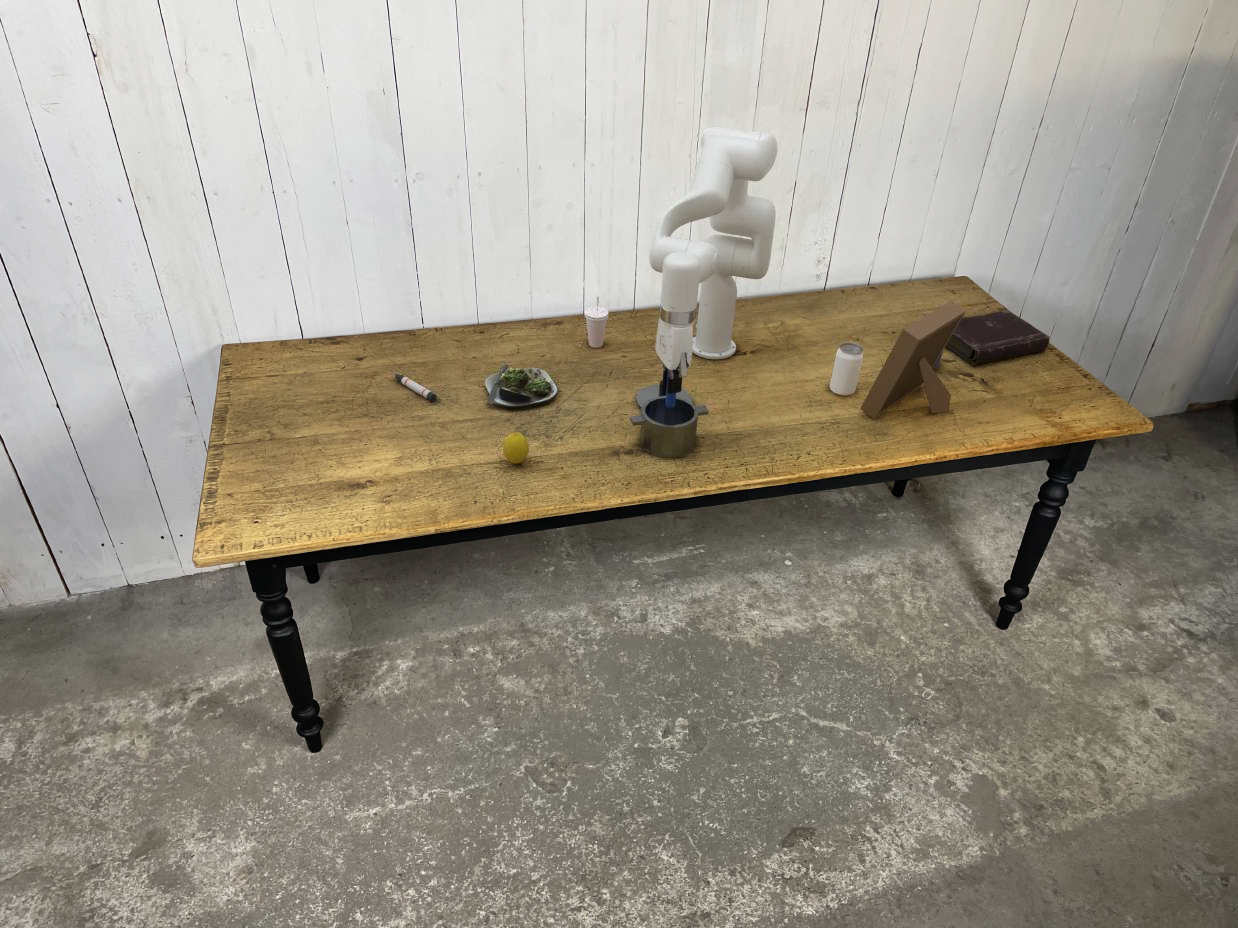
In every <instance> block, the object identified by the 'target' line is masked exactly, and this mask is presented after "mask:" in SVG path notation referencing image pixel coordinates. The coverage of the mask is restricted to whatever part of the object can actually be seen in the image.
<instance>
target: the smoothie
mask: <svg viewBox="0 0 1238 928" xmlns="http://www.w3.org/2000/svg"><path fill="white" fill-rule="evenodd" d="M599 299H600V296H599V295H596V300H595V301H596V303H595V304H596V305H595V306H590V307H588V308H586V309H585V310H584V318H585V323H586V330H587V339H588V345H589V347H592V348H595V349H597V348H601V347H602V346H603V345H604V339H605V332H606V326H607V320H608V318H609V316H610V315H609V310H608V309H607V308H605V307H603V306H600V305H599V303H600V300H599Z"/></svg>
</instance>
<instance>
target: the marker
mask: <svg viewBox="0 0 1238 928" xmlns="http://www.w3.org/2000/svg"><path fill="white" fill-rule="evenodd" d="M394 377H395V379H396V380H397V382H398V383H400V384H401V385H403V386H405V387H407V388H409V389H410V390H411V391H413V392H415V393H416V394H418V395H420V396H422V397H424V398H425V399H426V400H429V401H430V402H432V403H433V402H435V401H436V400H437V398H438V396H437V394H436V393H434V392H433V391H431V390H429V389H428V388H426V387H424V386H422V385H420V384H419V383H417V382H416V381H414V380H412V379H410V378H409V377H407V376H406V375H404V374H399V373H397V374H396V373H394Z"/></svg>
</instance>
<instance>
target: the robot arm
mask: <svg viewBox="0 0 1238 928" xmlns="http://www.w3.org/2000/svg"><path fill="white" fill-rule="evenodd" d="M777 155H778V141H777V139H776V137H775V135H773V134H772V133H769V132H764V131H763V132H762V131H755V130H748V129H747V130H746V129H740V128H734V127H723V126H711V127H708V128H706V129H705V130H704V131H702V134H701V136H700V153H699V156H698V160H697V163H696V167H695V170H694V173H693V177H692V180H691V184H690V187H689V190H688V193H687V194H686V195H685V196H682V198H680V199H678V200H677V201H676V202H675V203H673V204H672V205H671V206H670V207H669V208H668V209H667V210H666V211H665V212H664V213H663V214H662V216H661V217H660V218H659V220H658V223H657V224H656V228H655V231H654V235H653V238H652V241H651V245H650V249H649V257H648V260H649V265H650V267H651V268H652V270H653V271H655V272H656V273H660V274H662V275H661V276H662V277H661V291H660V304H659V315H658V316H659V317H658V318H659V319H658V324H657V330H656V338H655V347H654V348H655V352H656V354H657V356H658V358H659V359H660V360H661V362H662V368H663V370H662V379H661V381H662V385H663V387H667V393H668V394H672V393H679V392H681V389H683V388H682V387H683V378H687V376H688V373H687V369H689V368H691V365H692V360H693V354H694V355H696V356H698V357H700V358H703V359H707V360H723V359H728V358H730V357H733V355H735V353H736V352H737V351H736V350H737V345H736V342H735V341H734V340H733V338H732V337H733V330H734V329H733V328H734V322H735V321H734V320H735V313H736V305H737V299H738V298H737V297H738V287H737V284H736V281H735V279H734V277H736V278H743V279H750V280H761V279H763V278H765V276H766V275H767V273H768V271H769V267H770V262H771V257H772V249H773V241H774V234H775V226H776V206H775V204H774V202H773V201H771V200H770V199H769V198H765V197H760V196H753V195H749V194H748V188H749V182H759V181H762V180H763V179H764V178H765V177H766V176H767V175H768V174H769V172H770V171H772V168H773V167H774V165H775V162H776V159H777V157H778V156H777ZM706 218H709V225H710V227H711V229H712V230H714V231H716V232H718V233H722V234H711V235H709V236H708V237H706V238H705V239H704V240H703V241H697V240H692V239H687V238H681V237H674V236H672V235H673V233H674V232H675V231H677V230H678V229H679V228H680V227H682V226H684V225H687V224H690V223H692V222H696V221H697V222H698V221H701V220H703V219H706ZM725 234H726V235H725ZM744 237H745V238H744ZM699 287H700V291H699ZM698 298H699V301H698ZM697 308H698V311H697ZM697 313H698V314H697ZM696 319H697V320H696ZM696 321H697V322H696ZM695 323H696V325H695V328H696V331H695V332H696V333H695V336H694V329H693V328H694V326H693V325H694V324H695ZM668 369H669V370H670V377H668ZM675 369H678V371H675V372H674V370H675ZM667 377H668V382H667Z"/></svg>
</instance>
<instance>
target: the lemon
mask: <svg viewBox="0 0 1238 928" xmlns="http://www.w3.org/2000/svg"><path fill="white" fill-rule="evenodd" d="M502 451H503V455H504V457H505V459H506V460H507V461H508V462H510V463H512V464H520V463H523V462H524V461H525V460H526V459H527V458H528V456H529V452H530V447H529V442H528V439H527V437H526V436H525V435H524V434H523V433H521V432H520V433H519V432H511V433H509V434H508V435H507V436H506V437H505V439H504V441H503V445H502Z"/></svg>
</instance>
